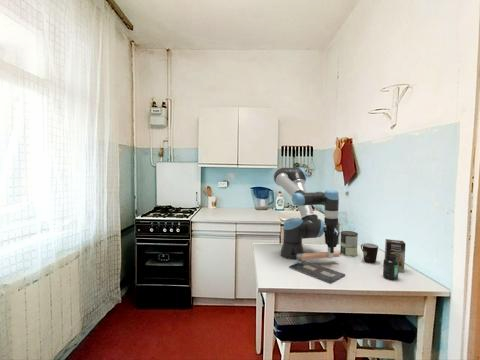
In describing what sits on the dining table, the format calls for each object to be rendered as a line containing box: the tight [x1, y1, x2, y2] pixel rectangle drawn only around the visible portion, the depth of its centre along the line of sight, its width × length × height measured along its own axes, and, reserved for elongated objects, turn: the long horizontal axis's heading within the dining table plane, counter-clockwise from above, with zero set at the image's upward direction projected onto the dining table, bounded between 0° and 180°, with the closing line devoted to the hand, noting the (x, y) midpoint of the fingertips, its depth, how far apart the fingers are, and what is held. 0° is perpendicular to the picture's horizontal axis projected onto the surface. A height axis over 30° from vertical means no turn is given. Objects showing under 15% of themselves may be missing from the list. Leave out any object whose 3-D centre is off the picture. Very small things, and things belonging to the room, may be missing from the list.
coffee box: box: [384, 238, 406, 274], centre depth 148 cm, size 9×6×16 cm
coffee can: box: [340, 230, 359, 258], centre depth 174 cm, size 10×10×14 cm
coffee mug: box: [360, 242, 379, 265], centre depth 162 cm, size 12×9×10 cm
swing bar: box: [296, 250, 341, 261], centre depth 156 cm, size 26×4×3 cm, turn 102°
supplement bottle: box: [382, 254, 399, 281], centre depth 138 cm, size 7×7×12 cm
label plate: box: [288, 259, 346, 284], centre depth 145 cm, size 26×14×4 cm, turn 40°
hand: (330, 257), depth 154 cm, fingers closed
